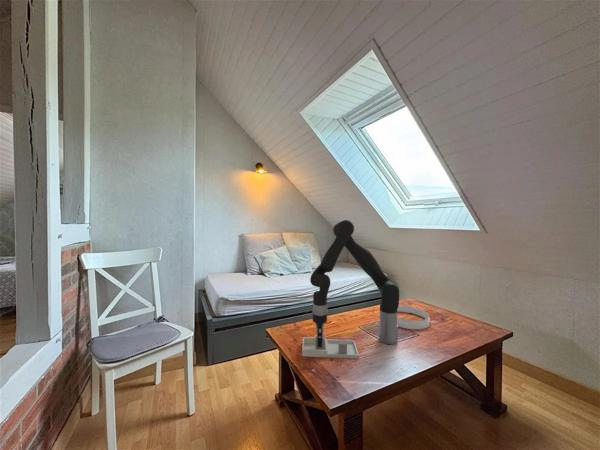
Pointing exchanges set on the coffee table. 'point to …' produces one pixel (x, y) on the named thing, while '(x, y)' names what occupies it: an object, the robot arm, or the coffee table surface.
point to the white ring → (409, 323)
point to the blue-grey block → (322, 344)
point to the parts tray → (333, 349)
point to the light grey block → (342, 347)
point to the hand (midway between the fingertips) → (319, 342)
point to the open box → (313, 348)
